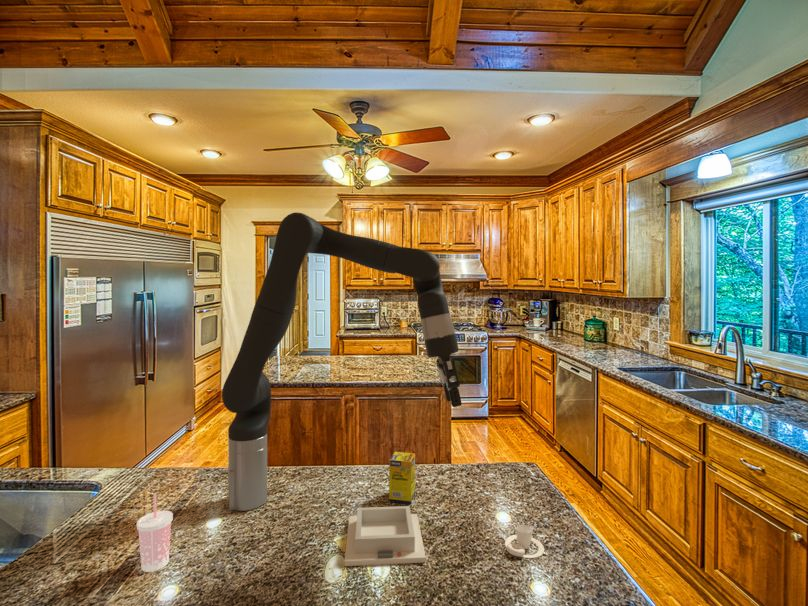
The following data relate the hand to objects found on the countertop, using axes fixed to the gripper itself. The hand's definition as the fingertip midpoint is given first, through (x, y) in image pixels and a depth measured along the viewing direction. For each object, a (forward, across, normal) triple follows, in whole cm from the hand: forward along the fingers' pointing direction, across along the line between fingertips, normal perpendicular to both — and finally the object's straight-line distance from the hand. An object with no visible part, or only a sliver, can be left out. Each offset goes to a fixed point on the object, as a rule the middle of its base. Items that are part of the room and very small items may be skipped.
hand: (454, 403), depth 94 cm
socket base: (+24, +4, -22) cm, 33 cm away
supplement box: (+24, -14, -17) cm, 32 cm away
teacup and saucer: (+31, +5, +4) cm, 32 cm away
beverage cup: (+16, +10, -66) cm, 68 cm away
